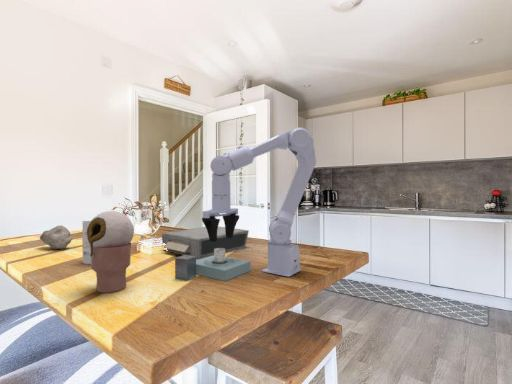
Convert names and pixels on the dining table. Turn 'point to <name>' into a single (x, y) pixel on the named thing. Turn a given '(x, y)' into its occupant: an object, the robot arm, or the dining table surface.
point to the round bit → (219, 256)
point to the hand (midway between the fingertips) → (221, 239)
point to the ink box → (86, 244)
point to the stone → (57, 237)
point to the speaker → (203, 241)
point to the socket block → (222, 268)
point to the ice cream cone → (110, 249)
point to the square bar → (185, 267)
